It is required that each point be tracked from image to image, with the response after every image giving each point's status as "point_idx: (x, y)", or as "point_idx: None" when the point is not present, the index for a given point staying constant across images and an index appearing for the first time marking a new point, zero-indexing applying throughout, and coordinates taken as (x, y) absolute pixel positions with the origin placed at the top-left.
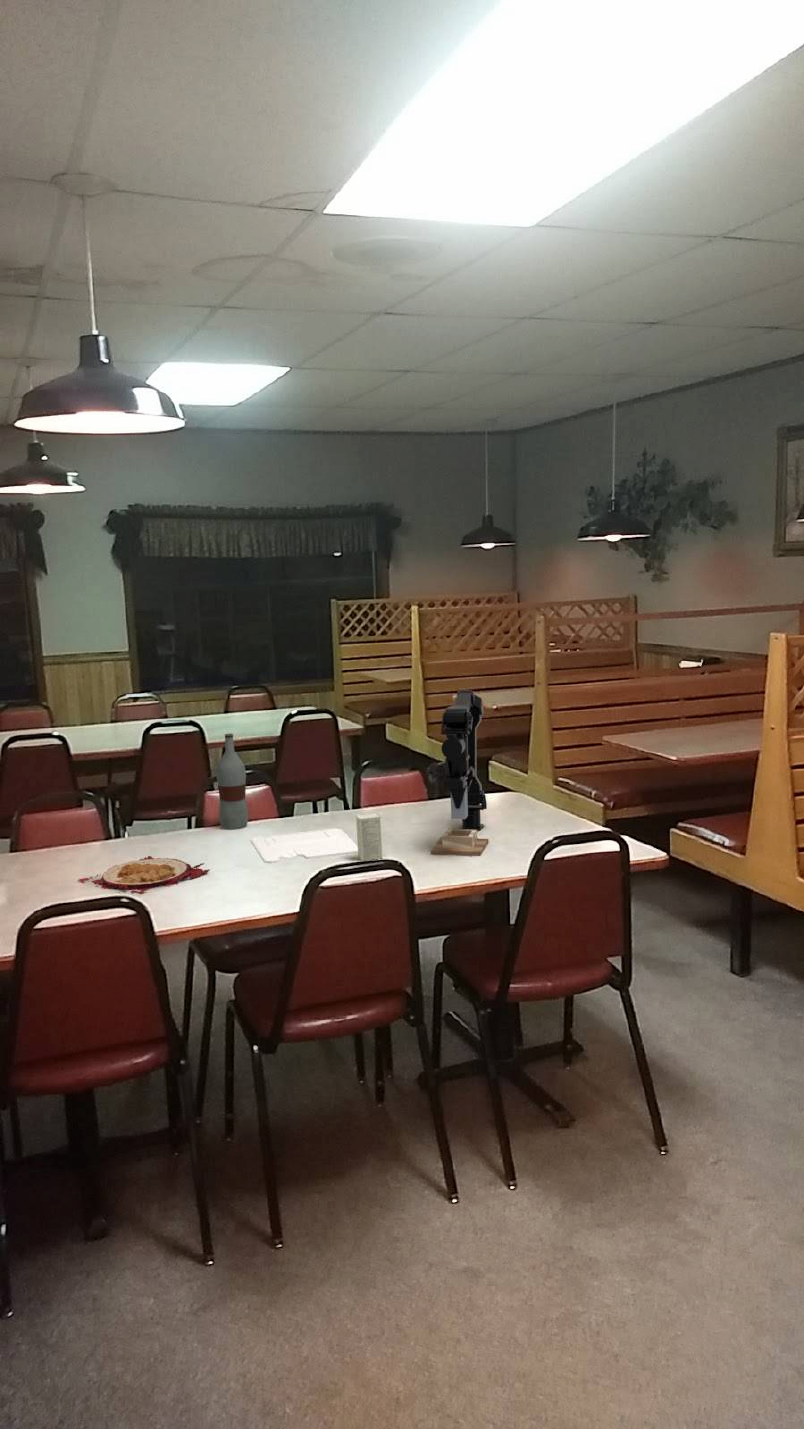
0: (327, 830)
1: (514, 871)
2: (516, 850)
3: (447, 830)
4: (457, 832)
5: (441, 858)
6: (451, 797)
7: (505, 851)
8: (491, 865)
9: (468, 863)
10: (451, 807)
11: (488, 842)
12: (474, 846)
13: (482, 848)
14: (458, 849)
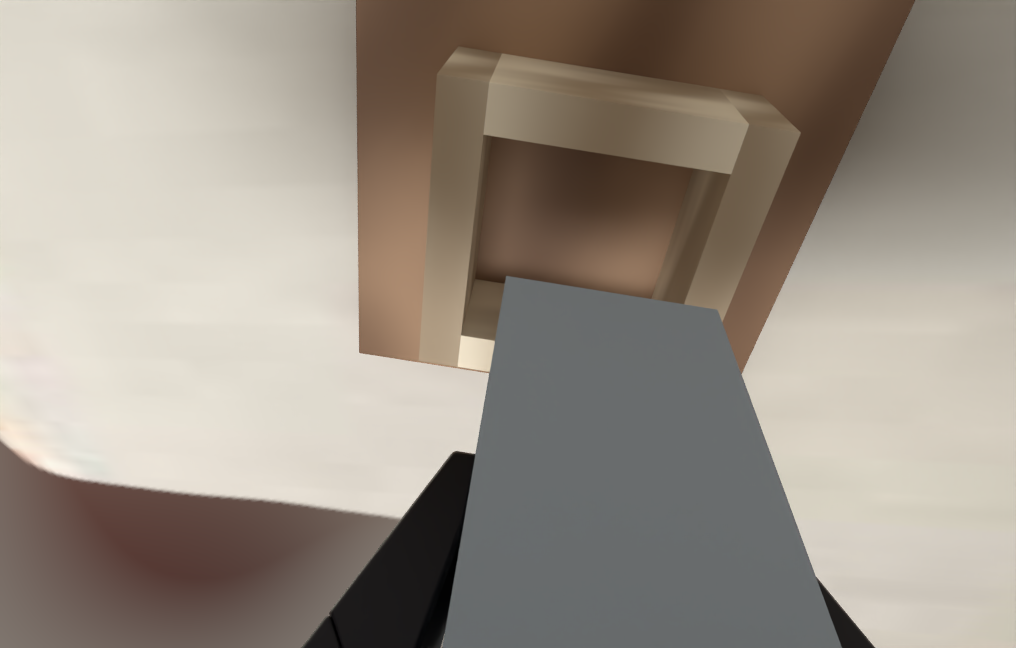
0: None
1: (117, 474)
2: None
3: (722, 125)
4: (702, 227)
5: (253, 40)
6: (454, 588)
7: None
8: (183, 386)
9: (179, 261)
10: (485, 398)
11: None
12: None
13: (457, 367)
14: (412, 202)
